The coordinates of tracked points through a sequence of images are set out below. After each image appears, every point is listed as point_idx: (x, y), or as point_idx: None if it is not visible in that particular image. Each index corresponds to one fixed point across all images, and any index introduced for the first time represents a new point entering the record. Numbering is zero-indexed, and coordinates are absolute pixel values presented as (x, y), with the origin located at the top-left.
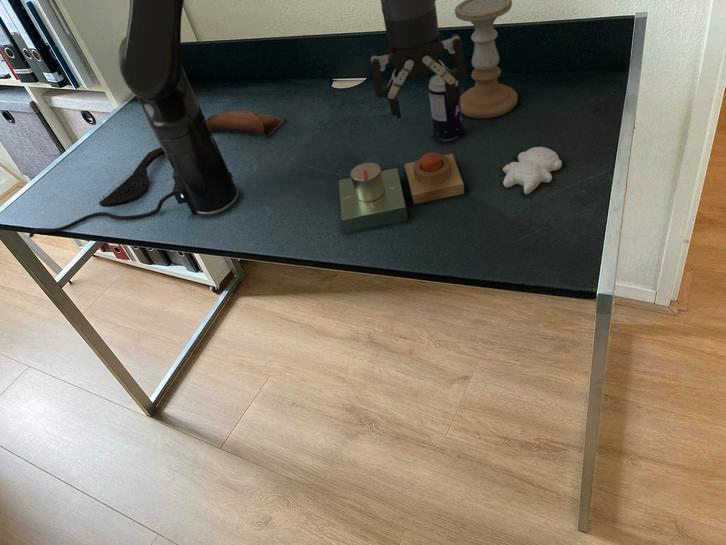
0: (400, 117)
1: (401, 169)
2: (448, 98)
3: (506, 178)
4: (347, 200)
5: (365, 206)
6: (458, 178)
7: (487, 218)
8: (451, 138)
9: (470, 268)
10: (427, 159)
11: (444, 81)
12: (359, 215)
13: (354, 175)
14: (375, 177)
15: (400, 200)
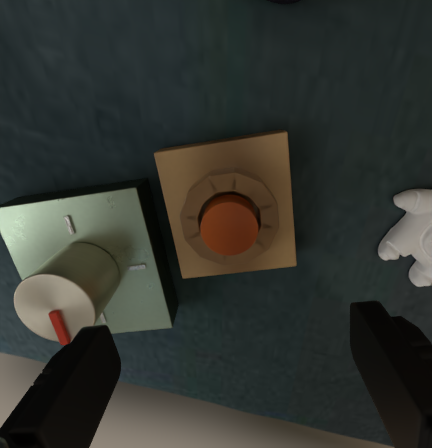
0: (117, 373)
1: (146, 126)
2: (371, 394)
3: (392, 256)
4: None
5: None
6: (288, 246)
7: (320, 323)
8: (294, 2)
9: (274, 407)
10: (219, 234)
11: (414, 401)
12: None
13: (29, 320)
14: None
15: (159, 309)
